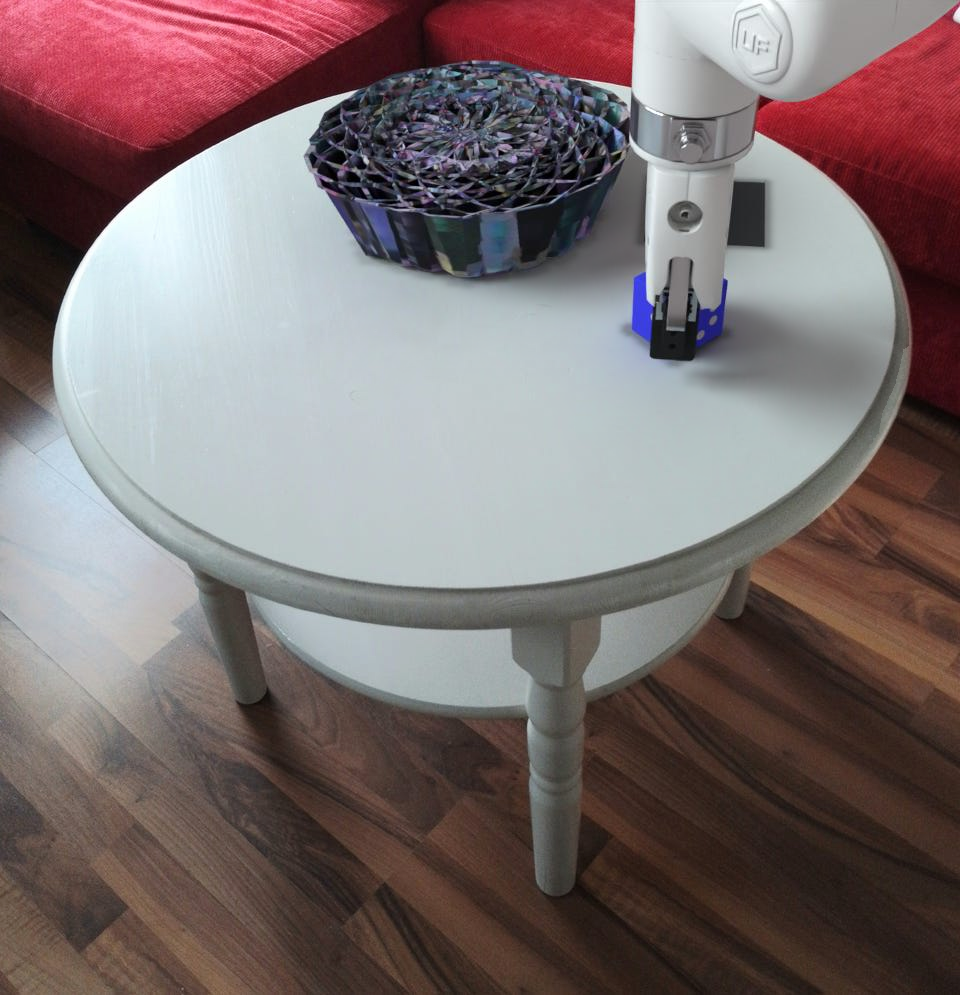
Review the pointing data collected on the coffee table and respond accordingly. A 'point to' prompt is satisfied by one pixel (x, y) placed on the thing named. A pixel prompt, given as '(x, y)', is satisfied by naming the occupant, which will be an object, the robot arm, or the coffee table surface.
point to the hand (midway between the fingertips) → (672, 352)
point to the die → (642, 309)
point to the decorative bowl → (471, 165)
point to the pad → (747, 214)
